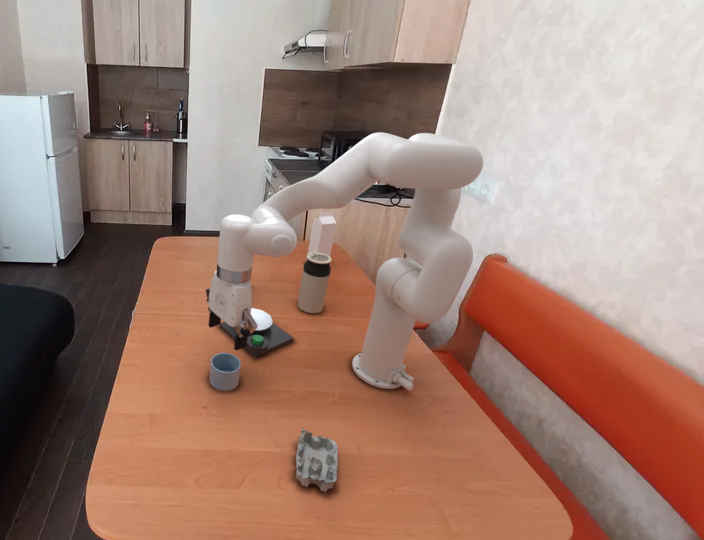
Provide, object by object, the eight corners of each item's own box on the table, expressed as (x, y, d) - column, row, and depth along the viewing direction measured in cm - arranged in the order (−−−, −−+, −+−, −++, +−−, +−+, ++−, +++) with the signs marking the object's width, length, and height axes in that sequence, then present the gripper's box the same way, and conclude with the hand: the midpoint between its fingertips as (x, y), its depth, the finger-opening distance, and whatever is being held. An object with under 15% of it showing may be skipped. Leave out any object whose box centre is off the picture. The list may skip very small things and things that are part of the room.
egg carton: (297, 439, 87) (300, 424, 85) (335, 450, 85) (338, 435, 83) (291, 483, 78) (294, 468, 76) (333, 497, 75) (337, 482, 74)
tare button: (264, 343, 111) (265, 339, 111) (256, 347, 110) (257, 342, 109) (257, 338, 113) (258, 333, 113) (250, 341, 112) (250, 336, 111)
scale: (293, 342, 116) (295, 333, 115) (255, 360, 109) (256, 350, 108) (255, 313, 129) (256, 305, 128) (218, 327, 121) (218, 319, 120)
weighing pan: (280, 324, 119) (280, 322, 119) (251, 336, 113) (251, 334, 113) (255, 306, 127) (255, 304, 127) (226, 316, 122) (226, 314, 121)
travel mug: (327, 311, 132) (338, 261, 124) (306, 316, 129) (316, 264, 122) (312, 298, 138) (321, 250, 131) (292, 302, 136) (300, 253, 128)
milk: (327, 268, 159) (338, 215, 150) (313, 270, 157) (324, 216, 148) (318, 261, 164) (329, 209, 155) (305, 262, 163) (315, 210, 154)
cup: (244, 383, 101) (246, 366, 99) (221, 395, 97) (222, 377, 95) (226, 366, 106) (228, 349, 104) (203, 376, 103) (204, 358, 100)
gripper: (197, 259, 94) (192, 321, 101) (246, 294, 81) (237, 363, 88) (223, 252, 98) (217, 313, 105) (274, 285, 85) (264, 352, 92)
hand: (226, 336), depth 96 cm, fingers open, 9 cm apart
